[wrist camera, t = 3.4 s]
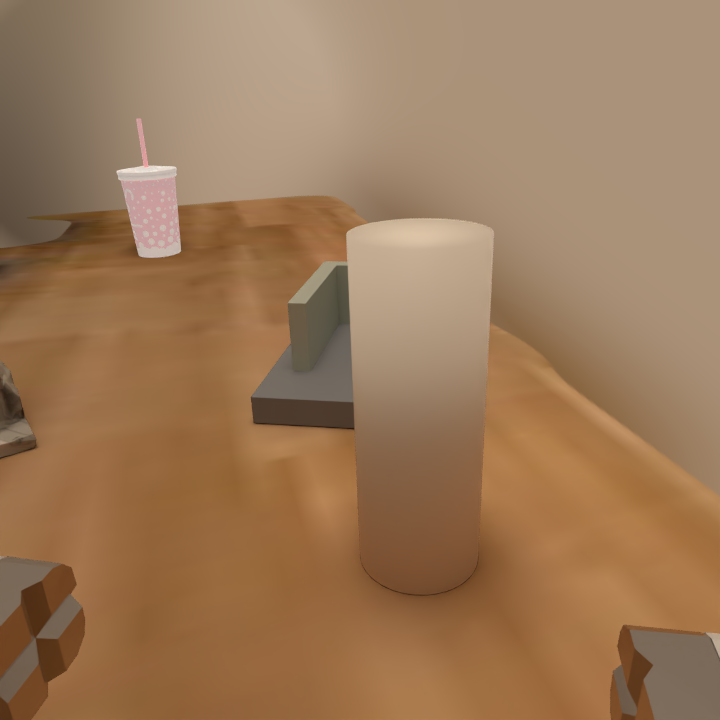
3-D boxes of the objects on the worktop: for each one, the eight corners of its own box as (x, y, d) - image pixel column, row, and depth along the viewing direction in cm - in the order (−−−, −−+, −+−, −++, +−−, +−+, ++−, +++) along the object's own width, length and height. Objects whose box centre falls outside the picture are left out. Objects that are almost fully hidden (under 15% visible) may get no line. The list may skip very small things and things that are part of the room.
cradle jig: (469, 340, 44) (472, 261, 41) (465, 434, 32) (468, 330, 30) (312, 335, 45) (307, 259, 43) (253, 422, 34) (242, 324, 31)
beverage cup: (134, 248, 73) (111, 119, 68) (189, 244, 74) (171, 116, 69) (127, 261, 68) (102, 121, 62) (186, 256, 69) (167, 118, 63)
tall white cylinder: (478, 520, 25) (492, 218, 21) (478, 601, 22) (495, 249, 17) (369, 511, 26) (360, 218, 22) (349, 588, 22) (332, 248, 18)
